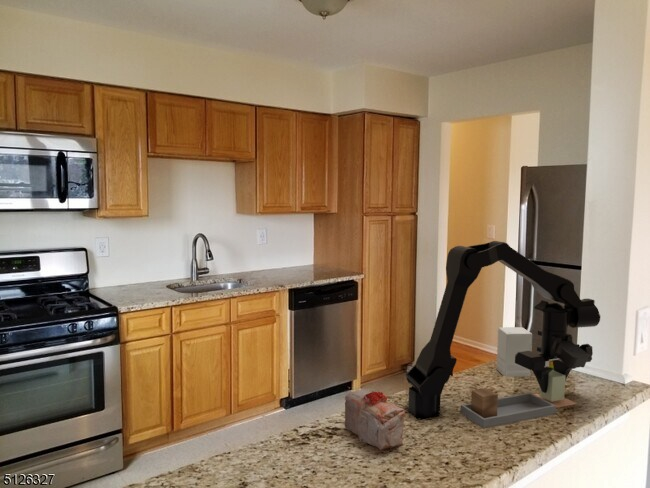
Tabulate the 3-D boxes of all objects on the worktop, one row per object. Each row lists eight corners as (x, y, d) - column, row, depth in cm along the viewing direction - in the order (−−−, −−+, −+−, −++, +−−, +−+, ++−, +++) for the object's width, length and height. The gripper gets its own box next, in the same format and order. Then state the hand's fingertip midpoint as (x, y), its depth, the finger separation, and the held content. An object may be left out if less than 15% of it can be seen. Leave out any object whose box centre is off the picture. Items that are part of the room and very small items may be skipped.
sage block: (551, 401, 120) (552, 377, 120) (538, 395, 124) (540, 371, 123) (564, 399, 122) (565, 375, 121) (551, 393, 125) (552, 369, 125)
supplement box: (531, 378, 139) (533, 333, 138) (504, 378, 139) (506, 333, 138) (521, 369, 146) (523, 326, 145) (495, 369, 146) (497, 326, 145)
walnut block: (482, 423, 110) (483, 396, 110) (470, 415, 114) (471, 390, 114) (497, 420, 112) (497, 394, 111) (485, 413, 116) (486, 387, 115)
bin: (483, 431, 108) (483, 419, 108) (460, 415, 116) (460, 404, 115) (555, 416, 115) (556, 405, 115) (529, 402, 123) (530, 392, 123)
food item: (410, 446, 102) (411, 399, 101) (381, 458, 97) (381, 409, 96) (366, 421, 113) (367, 379, 112) (338, 431, 108) (338, 387, 107)
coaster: (551, 411, 118) (551, 408, 118) (526, 398, 125) (526, 395, 125) (577, 405, 121) (577, 403, 121) (551, 393, 128) (551, 391, 128)
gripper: (550, 341, 110) (546, 410, 112) (612, 333, 117) (608, 398, 119) (514, 328, 121) (512, 391, 122) (573, 322, 127) (570, 381, 129)
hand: (551, 391), depth 123 cm, fingers open, 4 cm apart
